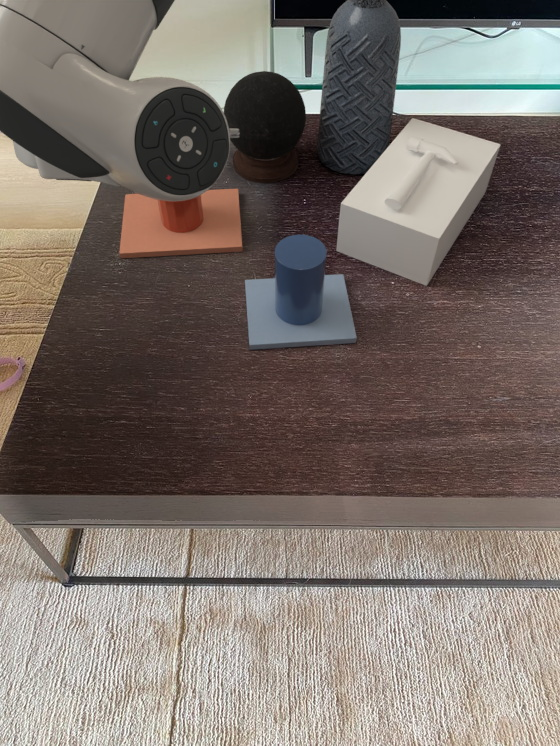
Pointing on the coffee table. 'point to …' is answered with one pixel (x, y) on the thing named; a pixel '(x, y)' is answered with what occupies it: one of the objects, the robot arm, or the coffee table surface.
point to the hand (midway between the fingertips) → (110, 133)
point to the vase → (358, 85)
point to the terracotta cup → (181, 214)
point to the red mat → (153, 239)
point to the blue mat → (279, 334)
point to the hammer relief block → (416, 200)
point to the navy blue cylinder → (299, 279)
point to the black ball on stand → (265, 126)
